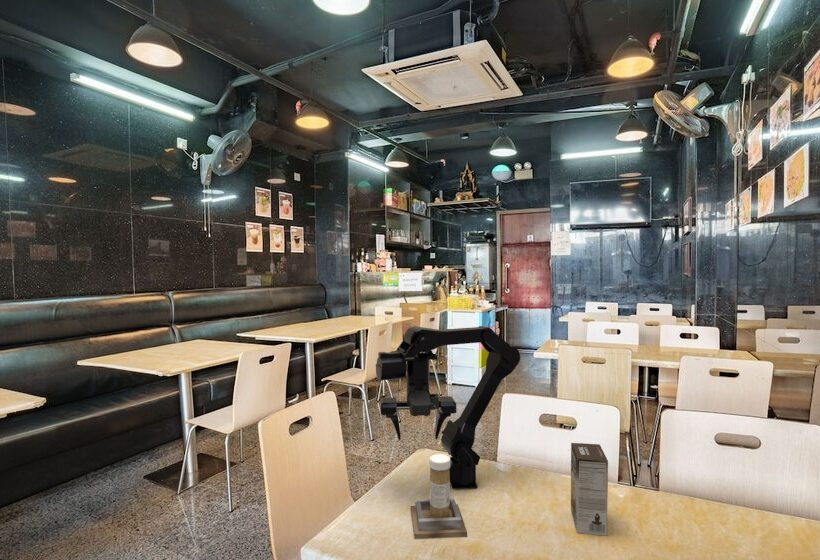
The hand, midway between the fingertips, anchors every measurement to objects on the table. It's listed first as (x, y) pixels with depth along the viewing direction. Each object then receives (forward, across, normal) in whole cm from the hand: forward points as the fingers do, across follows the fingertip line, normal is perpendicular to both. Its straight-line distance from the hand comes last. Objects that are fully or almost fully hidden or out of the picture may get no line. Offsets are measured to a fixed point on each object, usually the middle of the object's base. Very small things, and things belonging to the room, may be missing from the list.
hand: (417, 439), depth 111 cm
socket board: (+13, +3, -14) cm, 20 cm away
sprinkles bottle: (+12, +4, -14) cm, 19 cm away
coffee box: (+13, +36, -17) cm, 42 cm away
